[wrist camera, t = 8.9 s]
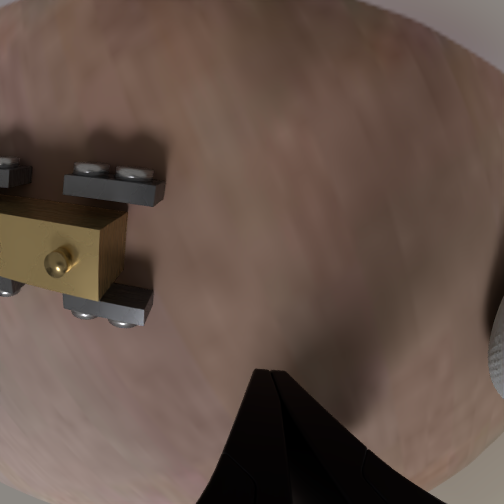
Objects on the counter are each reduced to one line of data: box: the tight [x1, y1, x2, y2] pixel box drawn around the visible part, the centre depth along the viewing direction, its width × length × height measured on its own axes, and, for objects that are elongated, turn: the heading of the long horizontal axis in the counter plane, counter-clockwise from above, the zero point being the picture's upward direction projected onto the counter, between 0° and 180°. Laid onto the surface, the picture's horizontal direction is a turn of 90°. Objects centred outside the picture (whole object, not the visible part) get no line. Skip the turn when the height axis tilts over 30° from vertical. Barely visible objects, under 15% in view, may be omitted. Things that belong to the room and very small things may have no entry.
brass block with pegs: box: [0, 194, 128, 301], centre depth 14 cm, size 4×12×5 cm, turn 79°
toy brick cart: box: [0, 156, 166, 328], centre depth 15 cm, size 9×15×3 cm, turn 79°
